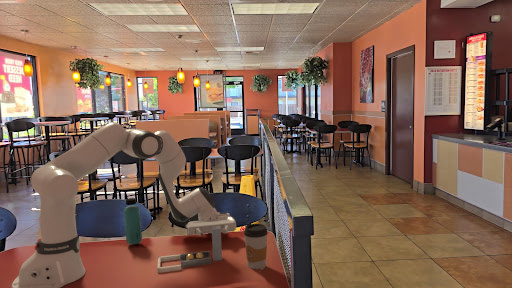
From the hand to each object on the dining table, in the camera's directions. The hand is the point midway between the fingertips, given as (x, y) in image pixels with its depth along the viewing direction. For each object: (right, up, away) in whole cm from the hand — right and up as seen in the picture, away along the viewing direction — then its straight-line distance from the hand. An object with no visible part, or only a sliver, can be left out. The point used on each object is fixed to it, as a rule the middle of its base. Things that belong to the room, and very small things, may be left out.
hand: (213, 232), depth 154 cm
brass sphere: (-4, -8, -11) cm, 14 cm away
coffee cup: (+17, -9, -15) cm, 25 cm away
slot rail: (-5, -9, -11) cm, 15 cm away
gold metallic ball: (-7, -8, -11) cm, 16 cm away
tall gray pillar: (+3, -9, -9) cm, 13 cm away
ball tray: (-14, -10, -13) cm, 22 cm away
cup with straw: (-65, -10, 0) cm, 66 cm away
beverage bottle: (-34, -7, +10) cm, 36 cm away
